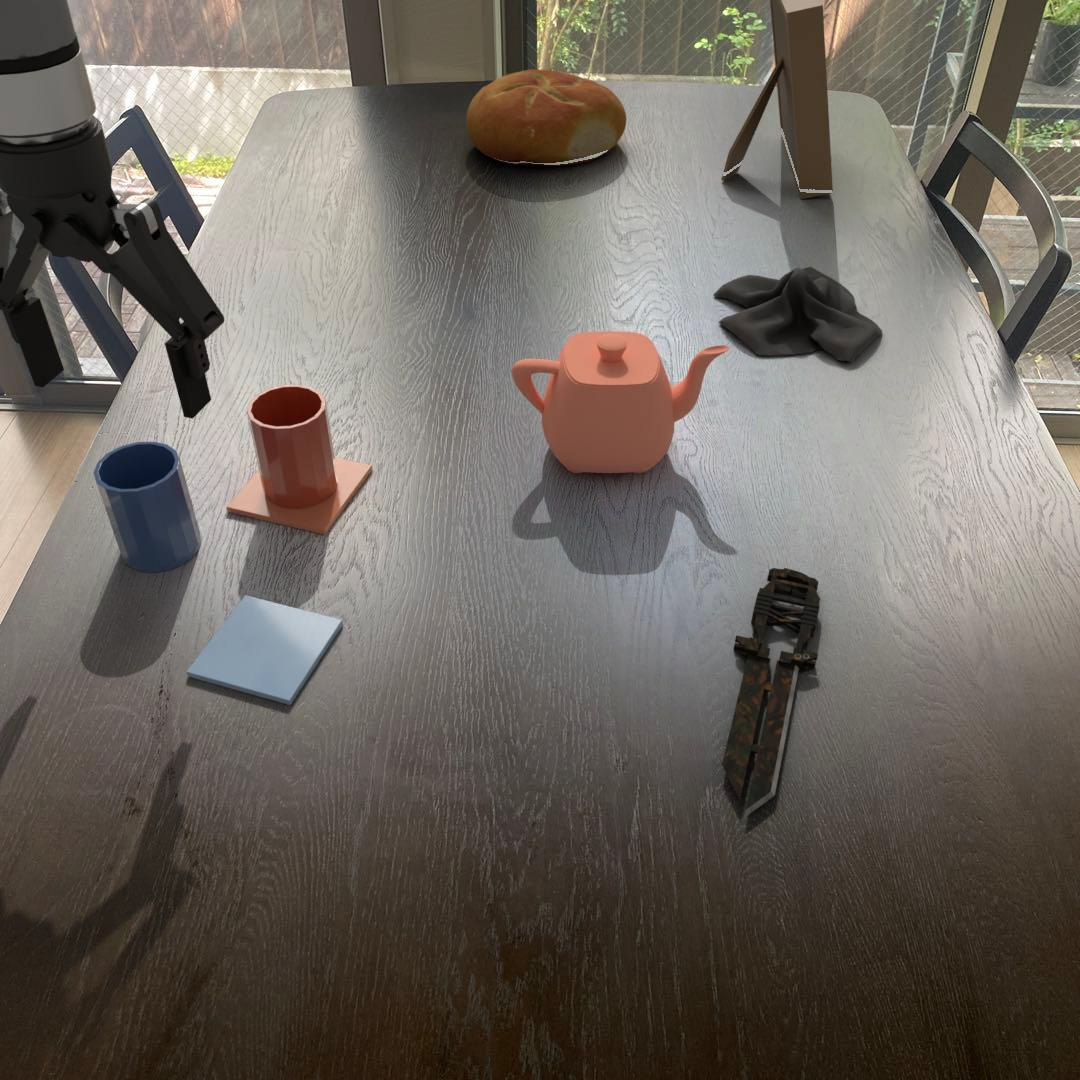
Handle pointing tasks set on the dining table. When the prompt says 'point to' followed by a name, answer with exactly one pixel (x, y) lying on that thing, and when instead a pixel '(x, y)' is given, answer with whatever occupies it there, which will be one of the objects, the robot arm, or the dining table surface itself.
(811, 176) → the photo frame
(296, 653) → the blue pad
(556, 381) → the teapot
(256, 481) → the red pad
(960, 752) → the dining table surface
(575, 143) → the bread
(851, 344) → the cloth
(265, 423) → the red cup
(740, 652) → the knife
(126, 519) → the blue cup
